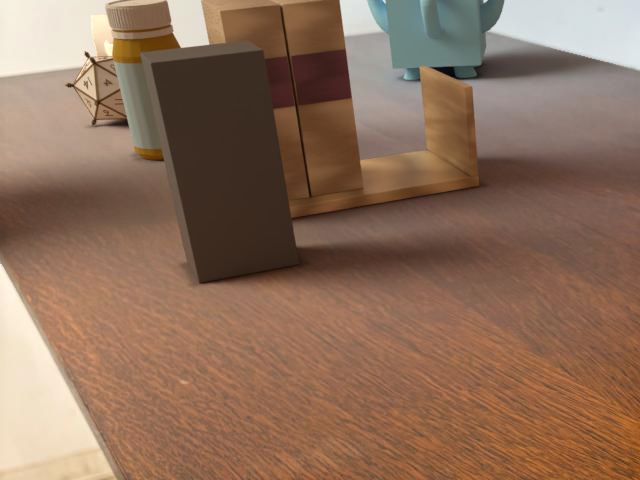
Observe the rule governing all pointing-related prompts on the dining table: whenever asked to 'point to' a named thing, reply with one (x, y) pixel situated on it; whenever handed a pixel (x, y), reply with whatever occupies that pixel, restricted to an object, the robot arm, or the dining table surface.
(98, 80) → the game die
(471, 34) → the teakettle
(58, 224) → the dining table surface
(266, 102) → the grey carton
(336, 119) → the book rack
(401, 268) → the dining table surface
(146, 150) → the bottle
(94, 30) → the mug
